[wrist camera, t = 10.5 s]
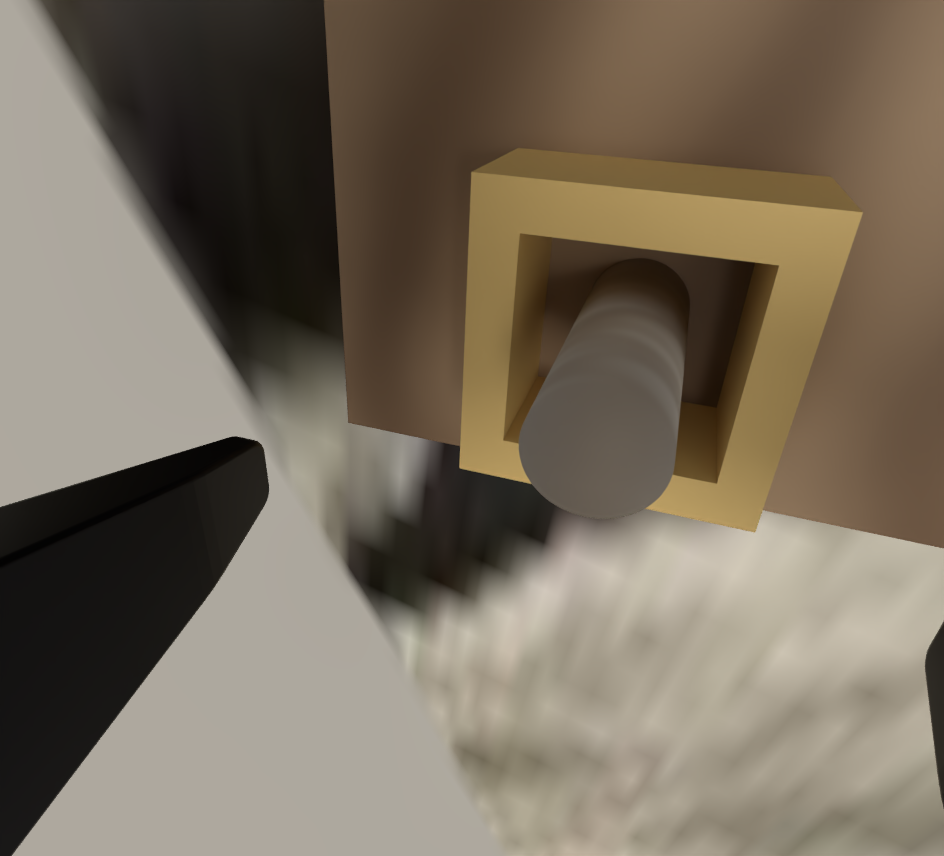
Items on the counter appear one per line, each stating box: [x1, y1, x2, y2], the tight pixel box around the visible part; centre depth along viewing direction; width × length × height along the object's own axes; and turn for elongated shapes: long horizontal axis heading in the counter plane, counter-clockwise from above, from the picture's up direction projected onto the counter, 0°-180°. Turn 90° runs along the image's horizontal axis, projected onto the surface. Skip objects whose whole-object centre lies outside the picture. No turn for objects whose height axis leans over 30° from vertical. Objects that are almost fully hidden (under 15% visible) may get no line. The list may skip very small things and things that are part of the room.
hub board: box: [324, 0, 944, 548], centre depth 13 cm, size 20×12×8 cm, turn 88°
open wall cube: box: [459, 148, 863, 532], centre depth 15 cm, size 7×7×4 cm
